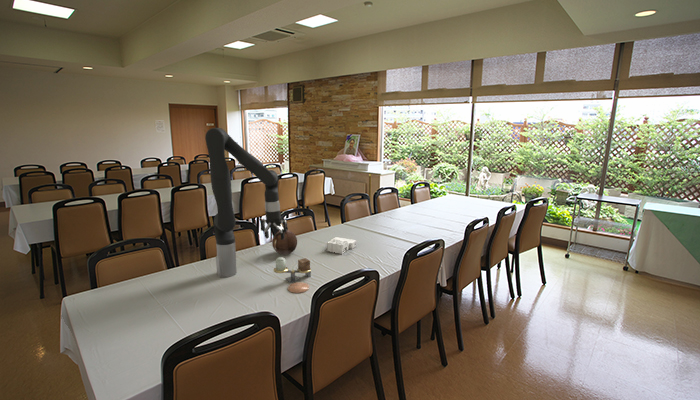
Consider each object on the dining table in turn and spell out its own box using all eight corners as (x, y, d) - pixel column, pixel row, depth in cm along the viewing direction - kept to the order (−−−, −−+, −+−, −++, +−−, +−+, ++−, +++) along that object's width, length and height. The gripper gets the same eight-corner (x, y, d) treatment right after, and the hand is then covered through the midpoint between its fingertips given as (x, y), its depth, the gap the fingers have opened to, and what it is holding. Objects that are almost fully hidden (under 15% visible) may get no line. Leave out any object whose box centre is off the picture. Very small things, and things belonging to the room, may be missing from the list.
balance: (277, 287, 168) (277, 273, 166) (271, 282, 173) (271, 268, 172) (313, 277, 179) (313, 264, 178) (306, 273, 185) (306, 260, 183)
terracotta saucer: (294, 295, 160) (294, 293, 160) (284, 287, 168) (284, 285, 168) (312, 289, 166) (312, 288, 166) (302, 282, 174) (302, 280, 174)
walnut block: (302, 271, 176) (302, 262, 175) (298, 268, 180) (298, 259, 179) (310, 269, 179) (310, 260, 178) (305, 267, 182) (305, 258, 181)
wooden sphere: (294, 248, 222) (294, 226, 219) (299, 256, 208) (299, 232, 205) (270, 251, 216) (270, 228, 213) (274, 259, 203) (274, 235, 200)
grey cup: (278, 271, 168) (278, 261, 166) (274, 268, 171) (274, 257, 170) (287, 269, 170) (287, 259, 169) (283, 266, 174) (282, 256, 173)
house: (348, 257, 209) (348, 247, 208) (321, 252, 216) (321, 243, 215) (361, 246, 229) (361, 237, 228) (336, 242, 236) (336, 233, 235)
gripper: (256, 210, 176) (259, 240, 180) (282, 211, 173) (284, 242, 177) (263, 206, 183) (265, 235, 187) (288, 207, 180) (290, 237, 184)
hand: (275, 238), depth 182 cm, fingers open, 8 cm apart
